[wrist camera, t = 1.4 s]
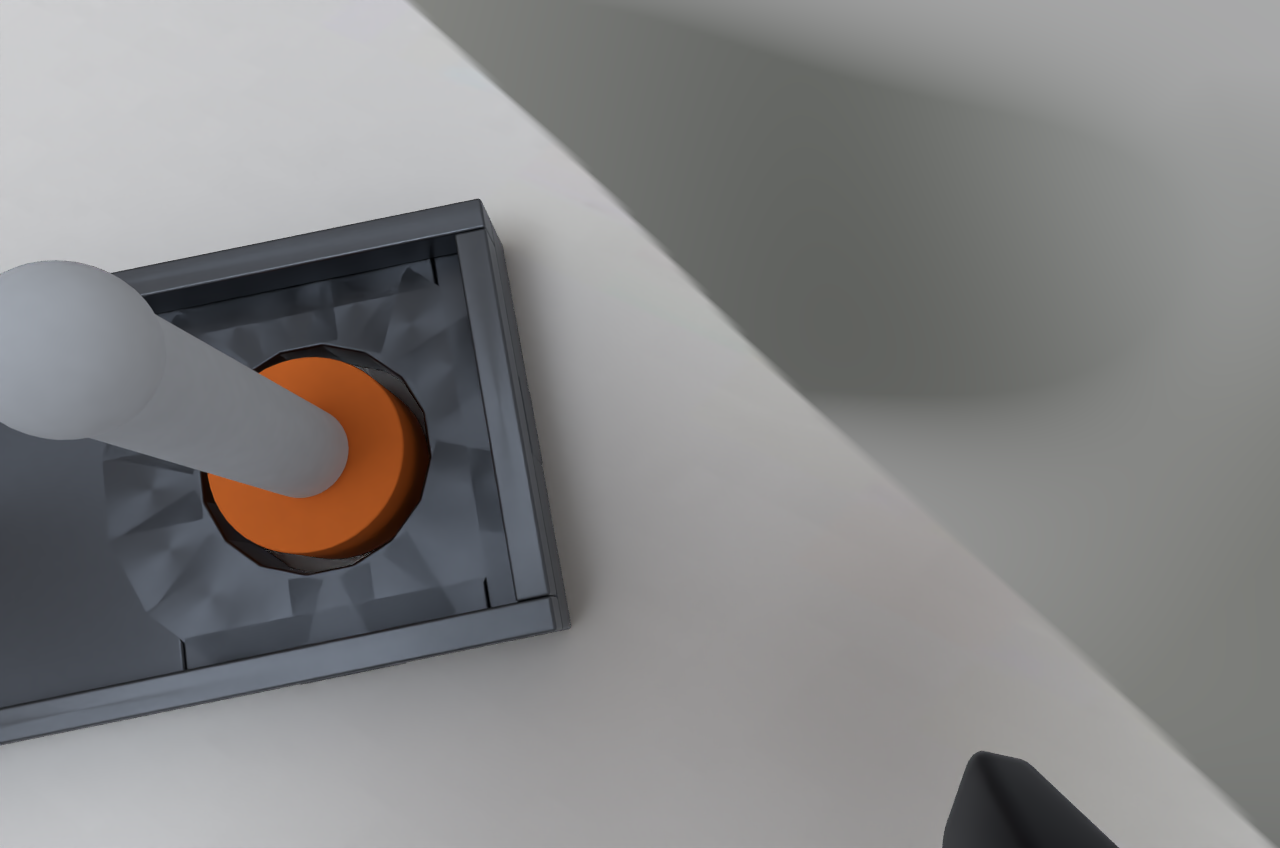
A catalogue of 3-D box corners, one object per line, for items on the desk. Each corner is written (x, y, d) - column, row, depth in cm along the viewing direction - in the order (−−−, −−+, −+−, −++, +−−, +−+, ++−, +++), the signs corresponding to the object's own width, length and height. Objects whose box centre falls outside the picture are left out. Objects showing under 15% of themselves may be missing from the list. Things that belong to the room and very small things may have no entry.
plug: (278, 585, 24) (-143, 559, 12) (230, 416, 25) (-204, 226, 12) (453, 521, 24) (221, 427, 12) (399, 355, 25) (132, 108, 13)
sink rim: (-342, 815, 21) (-401, 827, 20) (-333, 384, 24) (-386, 372, 22) (563, 629, 22) (557, 631, 20) (489, 217, 24) (480, 197, 22)
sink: (-265, 800, 23) (-342, 816, 21) (-263, 399, 25) (-333, 383, 24) (572, 629, 23) (564, 630, 21) (503, 243, 25) (490, 216, 24)
